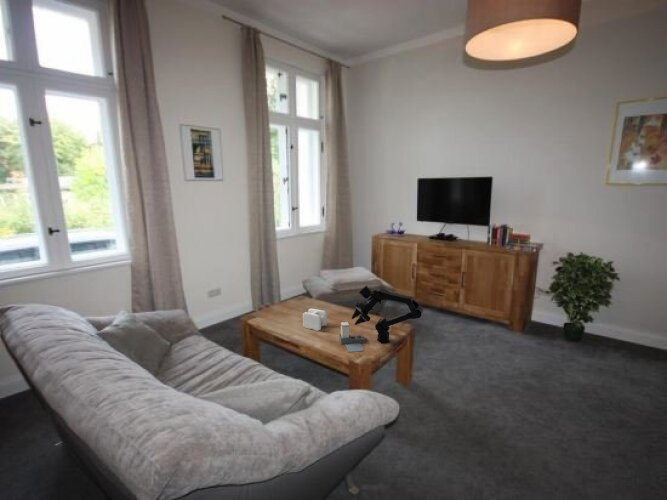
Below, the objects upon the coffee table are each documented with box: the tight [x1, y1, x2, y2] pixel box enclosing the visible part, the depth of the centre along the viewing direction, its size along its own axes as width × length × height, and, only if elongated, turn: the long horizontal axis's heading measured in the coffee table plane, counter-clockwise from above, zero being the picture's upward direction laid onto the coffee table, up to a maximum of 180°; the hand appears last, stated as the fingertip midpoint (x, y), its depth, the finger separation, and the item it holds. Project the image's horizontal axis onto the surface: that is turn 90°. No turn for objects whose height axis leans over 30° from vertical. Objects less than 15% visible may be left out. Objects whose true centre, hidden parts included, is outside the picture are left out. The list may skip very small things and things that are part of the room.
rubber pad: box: [344, 343, 365, 353], centre depth 219 cm, size 10×10×1 cm
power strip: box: [338, 333, 367, 346], centre depth 227 cm, size 16×7×4 cm, turn 100°
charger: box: [340, 321, 350, 338], centre depth 225 cm, size 4×4×10 cm
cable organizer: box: [302, 308, 328, 332], centre depth 248 cm, size 15×11×12 cm
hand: (353, 321), depth 225 cm, fingers open, 9 cm apart
